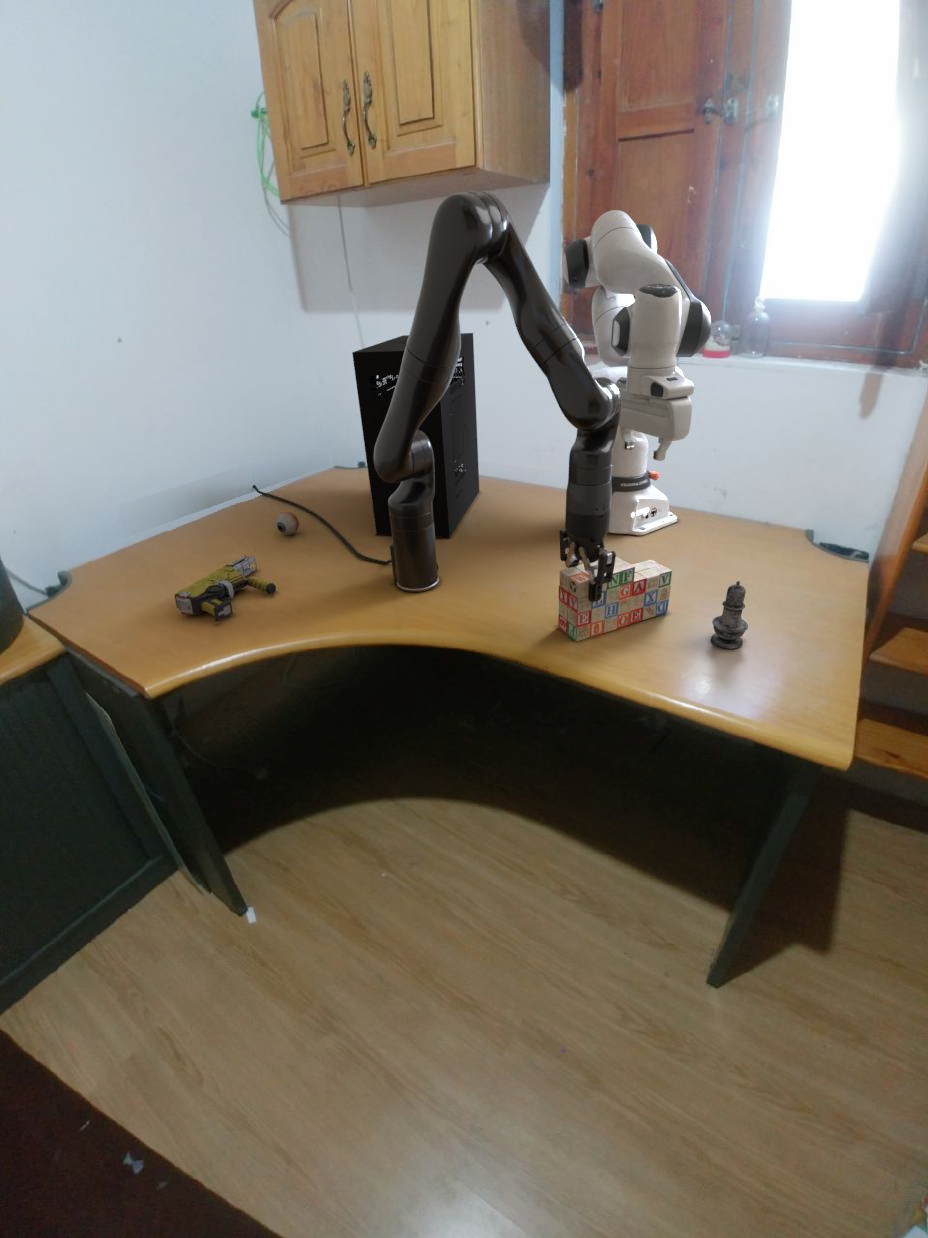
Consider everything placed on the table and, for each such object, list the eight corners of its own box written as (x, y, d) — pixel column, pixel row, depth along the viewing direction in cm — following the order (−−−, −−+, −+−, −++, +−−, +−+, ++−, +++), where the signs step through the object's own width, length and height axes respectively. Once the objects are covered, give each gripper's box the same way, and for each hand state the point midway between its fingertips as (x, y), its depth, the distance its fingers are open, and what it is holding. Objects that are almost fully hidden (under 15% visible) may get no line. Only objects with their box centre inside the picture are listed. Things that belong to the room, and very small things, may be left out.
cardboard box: (449, 537, 157) (436, 349, 134) (376, 534, 161) (352, 352, 139) (479, 491, 188) (473, 332, 166) (417, 489, 193) (403, 335, 170)
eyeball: (273, 537, 164) (268, 516, 161) (287, 528, 169) (282, 508, 166) (291, 539, 161) (286, 518, 158) (305, 530, 166) (301, 510, 163)
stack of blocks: (646, 600, 123) (653, 544, 117) (667, 613, 118) (675, 555, 112) (557, 627, 116) (559, 569, 110) (575, 642, 111) (578, 582, 105)
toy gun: (297, 563, 140) (243, 552, 144) (229, 608, 120) (168, 594, 124) (299, 582, 142) (245, 570, 146) (233, 629, 122) (172, 614, 126)
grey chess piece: (747, 650, 105) (760, 589, 99) (711, 648, 106) (722, 587, 100) (741, 633, 110) (753, 574, 104) (707, 631, 111) (717, 572, 105)
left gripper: (546, 497, 106) (545, 582, 115) (594, 522, 95) (589, 614, 103) (582, 490, 109) (578, 573, 117) (633, 513, 98) (625, 604, 106)
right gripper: (603, 377, 122) (599, 446, 129) (673, 390, 106) (664, 468, 112) (628, 374, 124) (623, 442, 131) (701, 386, 108) (691, 463, 115)
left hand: (583, 592), depth 110 cm, fingers closed on stack of blocks, 6 cm apart
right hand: (643, 454), depth 122 cm, fingers open, 8 cm apart
